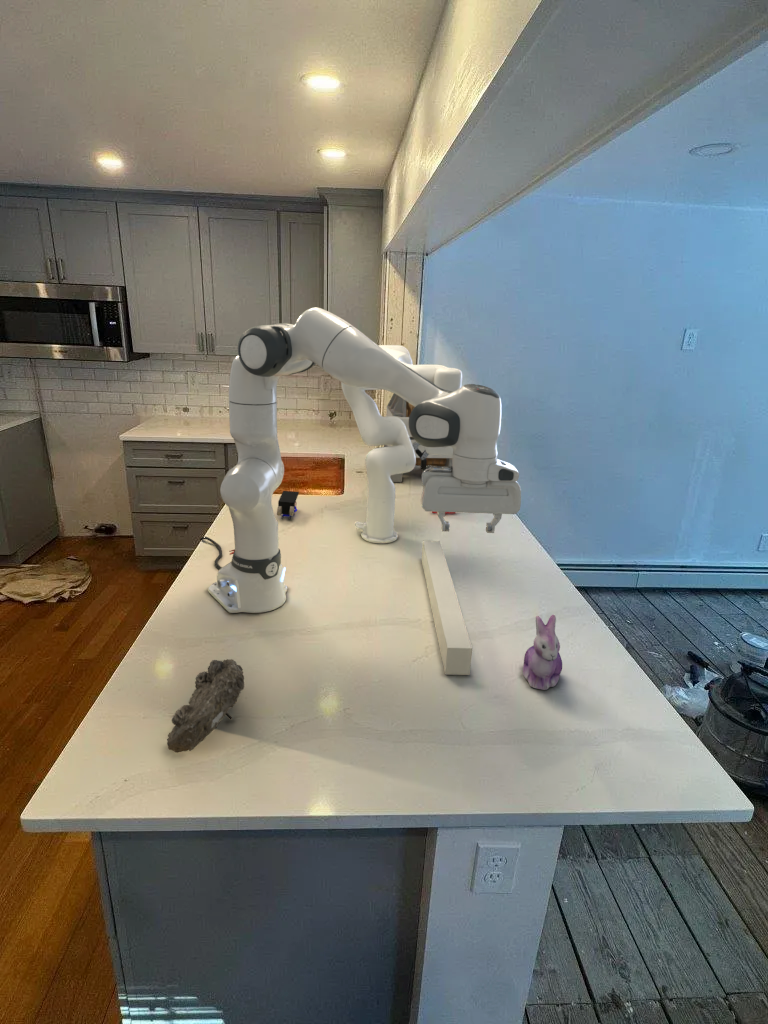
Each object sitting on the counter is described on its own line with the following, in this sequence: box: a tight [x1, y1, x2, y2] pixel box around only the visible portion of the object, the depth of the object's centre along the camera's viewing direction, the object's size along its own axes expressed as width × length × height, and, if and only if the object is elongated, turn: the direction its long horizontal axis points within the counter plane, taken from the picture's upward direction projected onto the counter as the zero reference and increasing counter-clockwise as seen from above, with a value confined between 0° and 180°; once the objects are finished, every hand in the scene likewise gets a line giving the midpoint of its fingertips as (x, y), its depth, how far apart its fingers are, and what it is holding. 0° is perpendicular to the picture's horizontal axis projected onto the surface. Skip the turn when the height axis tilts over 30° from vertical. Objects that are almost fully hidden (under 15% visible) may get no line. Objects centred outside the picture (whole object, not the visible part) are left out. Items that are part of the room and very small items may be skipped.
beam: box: [421, 539, 473, 676], centre depth 151 cm, size 60×5×7 cm, turn 1°
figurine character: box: [276, 490, 300, 521], centre depth 211 cm, size 7×8×15 cm
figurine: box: [522, 614, 563, 691], centre depth 121 cm, size 9×10×15 cm
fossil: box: [166, 658, 245, 754], centre depth 106 cm, size 22×10×15 cm
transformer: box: [383, 393, 453, 483], centre depth 268 cm, size 34×33×41 cm
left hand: (467, 531), depth 119 cm, fingers open, 8 cm apart
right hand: (440, 472), depth 164 cm, fingers open, 9 cm apart
